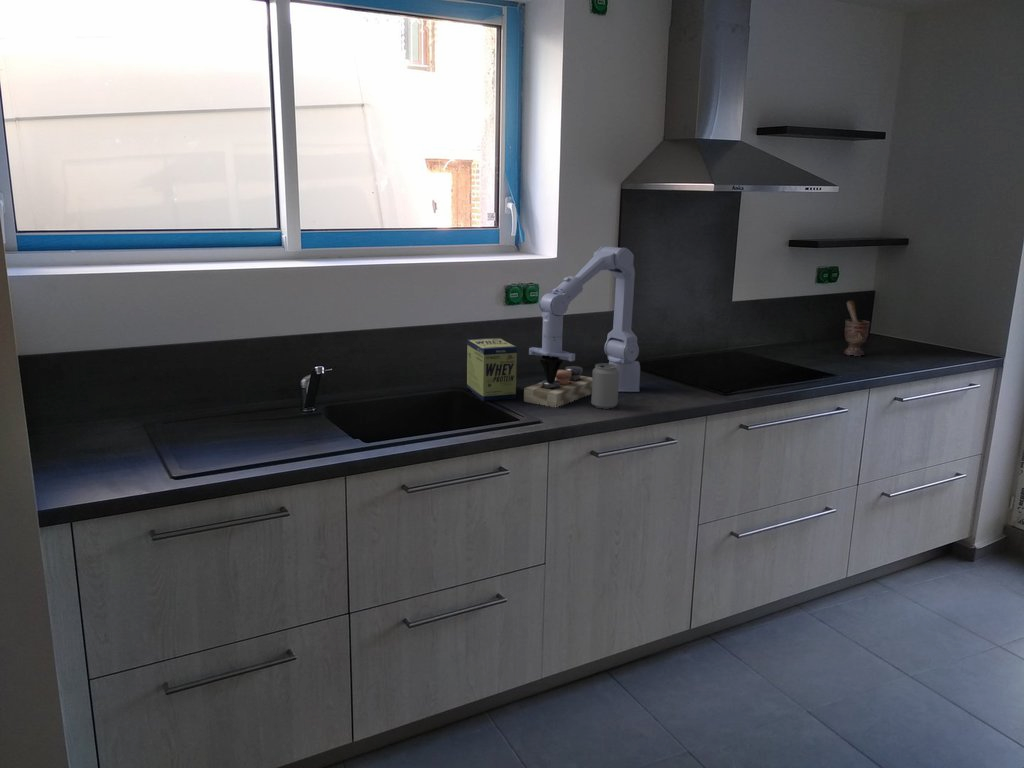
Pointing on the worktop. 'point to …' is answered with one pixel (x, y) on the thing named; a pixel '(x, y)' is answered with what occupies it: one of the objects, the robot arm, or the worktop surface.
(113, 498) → the worktop surface
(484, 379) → the protein box
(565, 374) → the knob middle
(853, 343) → the mortar and pestle
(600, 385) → the can
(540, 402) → the console
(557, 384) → the knob
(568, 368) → the knob
